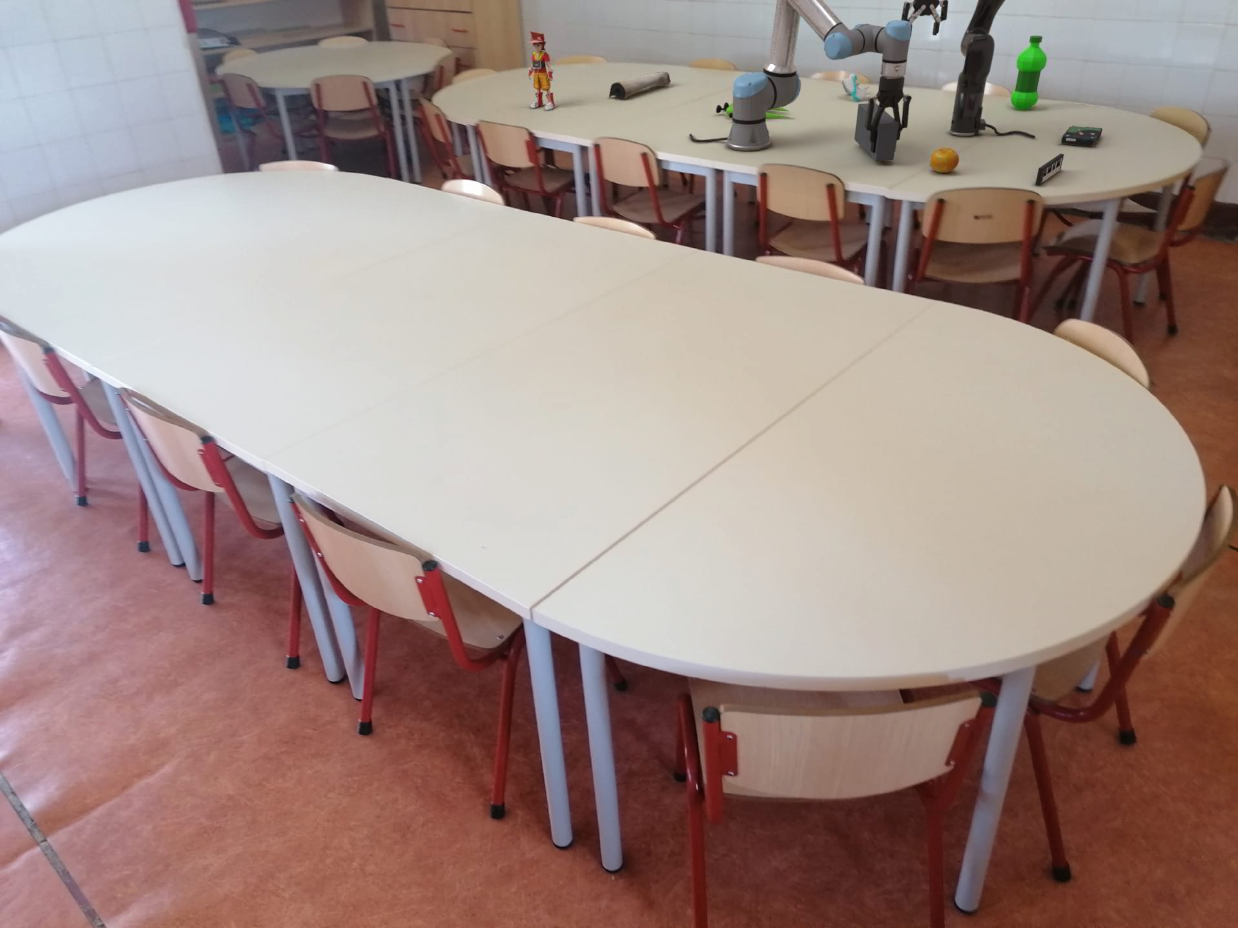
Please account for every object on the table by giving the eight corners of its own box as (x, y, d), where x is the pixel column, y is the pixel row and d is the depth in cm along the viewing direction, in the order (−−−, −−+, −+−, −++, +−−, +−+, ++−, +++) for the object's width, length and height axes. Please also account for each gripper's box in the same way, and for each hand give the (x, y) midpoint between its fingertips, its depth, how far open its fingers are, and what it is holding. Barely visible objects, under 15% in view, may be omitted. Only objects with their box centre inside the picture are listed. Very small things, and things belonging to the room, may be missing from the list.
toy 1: (525, 109, 381) (517, 32, 364) (534, 104, 388) (527, 28, 371) (550, 110, 377) (543, 32, 360) (559, 105, 384) (553, 28, 367)
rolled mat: (651, 76, 408) (662, 61, 399) (662, 93, 408) (674, 79, 400) (605, 92, 391) (616, 77, 383) (617, 110, 391) (628, 95, 383)
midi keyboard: (1039, 185, 269) (1043, 168, 266) (1035, 184, 270) (1038, 168, 267) (1060, 170, 279) (1064, 154, 277) (1056, 169, 280) (1060, 153, 277)
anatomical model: (837, 72, 370) (861, 66, 369) (839, 98, 376) (863, 91, 375) (847, 80, 358) (872, 73, 357) (850, 107, 364) (874, 100, 363)
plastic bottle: (1042, 108, 341) (1057, 36, 326) (1025, 113, 336) (1039, 40, 322) (1019, 103, 348) (1033, 33, 333) (1002, 108, 343) (1015, 37, 329)
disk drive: (1093, 148, 297) (1100, 136, 307) (1095, 139, 295) (1103, 127, 305) (1060, 144, 302) (1068, 133, 312) (1062, 136, 300) (1070, 124, 310)
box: (854, 139, 313) (858, 104, 306) (871, 138, 313) (875, 103, 306) (875, 161, 292) (880, 123, 285) (893, 160, 292) (898, 122, 285)
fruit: (924, 163, 281) (941, 140, 278) (925, 165, 289) (941, 143, 286) (946, 178, 280) (963, 155, 277) (947, 180, 288) (963, 158, 285)
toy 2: (706, 117, 350) (777, 129, 338) (708, 103, 348) (779, 115, 335) (737, 106, 371) (804, 117, 358) (738, 93, 368) (807, 104, 355)
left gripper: (865, 80, 277) (857, 156, 290) (926, 77, 277) (915, 152, 291) (859, 75, 283) (851, 149, 296) (918, 71, 283) (907, 146, 297)
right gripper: (910, -17, 283) (904, 39, 292) (955, -20, 283) (947, 36, 292) (903, -20, 289) (896, 35, 298) (946, -23, 289) (939, 32, 298)
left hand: (882, 151), depth 293 cm, fingers closed on box, 6 cm apart
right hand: (921, 36), depth 295 cm, fingers open, 8 cm apart
